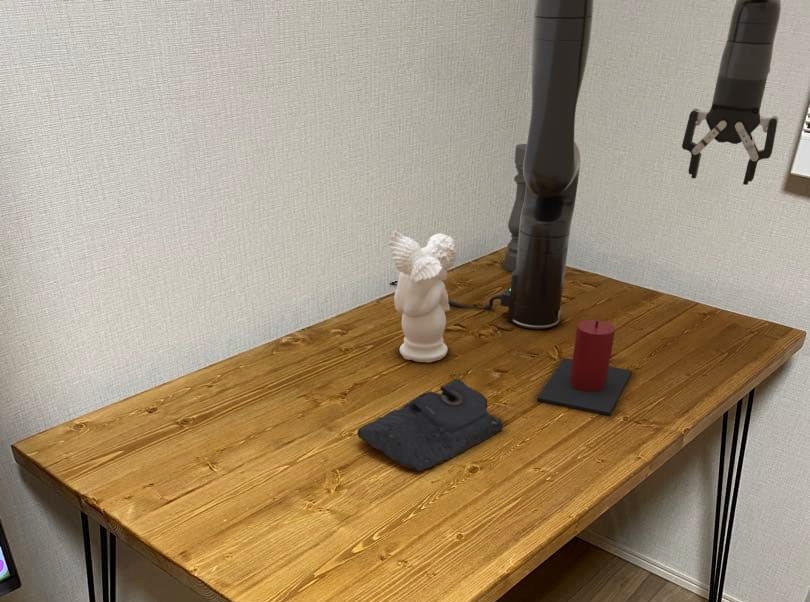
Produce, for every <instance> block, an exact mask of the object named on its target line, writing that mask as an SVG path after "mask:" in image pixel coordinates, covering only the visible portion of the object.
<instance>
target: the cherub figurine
mask: <svg viewBox="0 0 810 602" xmlns="http://www.w3.org/2000/svg"><path fill="white" fill-rule="evenodd" d="M389 237H390V240H389V241H388V245H389V246H390V248H389V249H390V251H391V254H392V256H394V257H393V262H394V265H395V266H396V269H397V271H399V272H400V273H399V276H398V278H399V279H398V278H397V279H398V282H397V283H396V284H397V285H396V290H395V293H394V296H393V298H394V299H393V300H394V308H395V310H396V311H397V312H398V313H399V314H402V315H401V329H402V332H403V335H404V336H403V343H402V344H401V345H400V346H399V354H400V355H401V356H402V357H403V359H405V360H409V361H414V362H419V363H432V362H436V361H440V360H442V359H443V358H444V357H446V355H447V353H448V346H447V344H446V343H445V341H444V336H443V335H444V334H445V330H446V326H447V315H446V312H447V313H448V312H450V311H451V308H450V304H449V303H448V300H449V295H448V291H447V289H446V284H445V282H444V281H446V280H447V279H448V271H450V270H451V268H452V267H453V266H454V265H455V262H456V259H457V257H458V252H457V249H456V243H455V240H454V239H453V238H452V236H450V235H447V234H444V233H441V232H439V233H435V234H434V235H432V236H430V237H429V240H428V242H427V243H426V246H424V247H421V246H420V244H419V243H418V242H417V241H415V240H414V239H413V238H411V237H408V236H405V235H403V234H401V233H400V232H398V231H397V230H394V232H393V234H392V235H390V236H389Z"/></svg>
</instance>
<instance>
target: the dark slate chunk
mask: <svg viewBox="0 0 810 602" xmlns="http://www.w3.org/2000/svg"><path fill="white" fill-rule="evenodd" d="M439 390H440V391H442V392H441V393H439V392H435V391H431V390H429V391H428V392H425V393H424V392H423V393H422V394H420V395H418V396H416V397H415V398H413V399H412V400H410V401H409V402H408V403H406V404H404V405H403V406H402V407H401V408H399V409H393V410H391V411H389V412H387V413H385V414H384V415H382V416H379V417H378V418H377V419H376V420H373V421H372V422H368V423H366V424H363V425H362V426H361V427H359V428H358V429H357V437H358V438H359V439H361V440H362V441H364V442H365V443H367V444H368V445H369V446H371V447H373V449H376V450H378V451H379V452H381V453H383V454H384V455H385V456H386V457H387V458H389V459H390V460H391V461H394V462H395V463H398V464H399V465H401V466H402V467H405V468H408V469H410V470H414V471H417V472H422V471H423V470H427V469H429V468H432V467H436V466H437V465H441V464H442V463H444V462H447V461H448V460H451V459H453V458H455V457H456V456H459V455H461V454H463V453H465V452H466V451H468V450H470V449H471V448H473V447H475V446H476V445H478V444H479V445H480V444H481V443H482V442H483V441H486V440H487V439H490V438H491V437H493V436H495V434H497V433H499V432H500V431H502V429H503V427H504V425H503V424H502V419H500V418H496V417H495V416H494V415H491V414H489V413H488V410H487V409H488V399H487V397H486V396H484V394H482V392H479V391H477V390H475V389H473V388H472V387H470V386H468V385H467V384H466V383H465V382H464V381H463V380H462V379H459V378H455V379H453V380H452V381H450V382H448V383H446V384H444V385H441V386H440V389H439Z"/></svg>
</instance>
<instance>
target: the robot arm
mask: <svg viewBox="0 0 810 602" xmlns="http://www.w3.org/2000/svg"><path fill="white" fill-rule="evenodd" d="M781 9H782V3H781V0H735V3H734V7H733V10H732V14H731V18H730V23H729V28H728V32H727V37H726V41H725V45H724V48H723V51H722V54H721V58H720V64H719V69H718V74H717V78H716V81H715V82H716V83H715V87H714V93H713V98H712V102H711V107H710V109H709V111H702V110H700V109H698V108H693V109H692V110H691V111H690V113H689V116H688V120H687V124H686V128H685V132H684V135H683V140H682V144H681V148H682V149H683V150H685V151H688V152H689V153H690V154H691V155H690V161H689V165H688V174H689V175H691V177H690V178H691V179H696V178H697V177H698V173H699V168H700V163H701V158H702V154H703V153H701V152H702V151H703V150H704V149H705V148H706V147H707V146H708V145H710V143H711V142H712V141H713V140H715V141H716V142H717V143H729V144H732V145H738V144H740V143H742V145H743V148H744V149H745V151H746V152H747V155H748V156H749V159H748V162H747V166H746V169H745V174H744V179H743V183H742V184H743V185H746V186H748V184H749V182H750V183H751V182H752V181H753V180H754V178H755V174H756V170H757V167H758V163H759V161H761V160H764V159H765V160H767V159H770V158H771V156H772V154H773V150H774V145H775V139H776V134H777V128H778V122H779V118H778V117H777V115H773V116H771V117H761V113H760V112H761V106H762V103H763V97H764V93H765V89H766V85H767V81H768V77H769V74H770V71H771V64H772V59H773V49H774V43H775V39H776V36H777V35H776V34H777V31H778V25H779V22H780V17H781ZM593 15H594V0H535V3H534V12H533V22H532V23H533V25H532V42H531V44H532V45H531V47H532V48H531V110H530V120H529V127H528V135H527V140H526V144H527V146H526V151H525V157H524V162H523V175H524V179H525V182H526V189H525V197H524V203H523V208H522V212H521V216H520V226H519V237H518V248H517V259H516V269H515V271H514V272H512V273H511V278H510V280H511V281H510V286H507V287H506V288H505V290H504V291H503V292H502V293H501V294H499V295H497V294H496V295H494V296H492V297H490V298H489V300H488V305H485V306H480V307H474V306H468V305H464V304H461V303H459V302H458V303H457V302H455V301H453V300H449V299H448V303H449V306H450V305H451V306H453V307H455V308H456V307H457V308H459V309H460V308H461V309H479V310H489V309H492V308H493V306H494V301H495V300H500V303H499V306H500V307H506V308H508V309H507V310H508V311H507V322H508V323H513V325H516V326H518V327H521V328H525V329H528V330H546V329H547V330H548V329H552V328H555V327H557V325H559V323H560V316H561V315H562V310H563V306H561V305H562V298H563V291H564V283H565V275H566V267H567V259H568V258H567V257H568V250H569V243H570V234H571V230H572V229H571V228H572V221H573V217H574V213H575V206H576V199H577V193H578V185H579V177H580V169H581V152H580V149H579V147H578V144H577V143H576V141H575V126H576V112H577V105H578V99H579V96H580V91H581V87H582V84H583V80H584V75H585V70H586V67H587V62H588V56H589V49H590V44H591V36H592V35H591V34H592V25H593ZM704 120H705V122H706V124H707V126H708V129H709V131H708V132H707V133H706V134H705V135H704V136H703V137H702V138H701V139H700V140H699V141H698V142H697V143H695V142H694V141H693V140H694V139H693V138H694V135H695V131H696V128H697V127H698V126H700V125H701V124H702V121H704ZM759 125H760V126H761V127H762V131H763V133H766V136H765V142H764V147H763V149H759V148H758V146H757V143H756V141H755V139H754V136H753V134H752V133H753V132H754V130H756V129H757V128H758V127H759ZM391 282H392V281H391ZM391 282H389V285H390V286H394V285H395V284H398V281H395V282H392V283H391Z"/></svg>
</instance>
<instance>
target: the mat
mask: <svg viewBox="0 0 810 602" xmlns="http://www.w3.org/2000/svg"><path fill="white" fill-rule="evenodd" d="M572 360H573V358H572V359H571V358H567V357H564V358H563V359H562V361H561V362H560V364H559V366H558V367H557V368H556V370H555V371H554V373H553V374H552V376H550V378H549V380H548V381H547V382H546V384H545V385H544V387H543V388H542V390H541V392H539V395H538V396H537V399H536V401H537V402H541V403H546V404H550V405H556V406H560V407H564V408H565V407H566V408H570V409H575V410H579V411H584V412H588V413H589V412H590V413H594V414H600V415H605V416H611V414H612V412H613V411H614V409H615V407H616V404H617V402H618V401H619V399H620V397H621V395H622V393H623V391H624V389H625V387H626V385H627V383H628V381H629V379H630V378H631V375H632V373H633V371H632V370H630V369H624V368H619V367H614V366H609V369H608V375H607V381H606V386H605V388H604V389H602V390H600V391H594V392H588V391H582V390H578V389H576V388H574V387H572V386H571V385H570V375H571V367H572Z"/></svg>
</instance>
